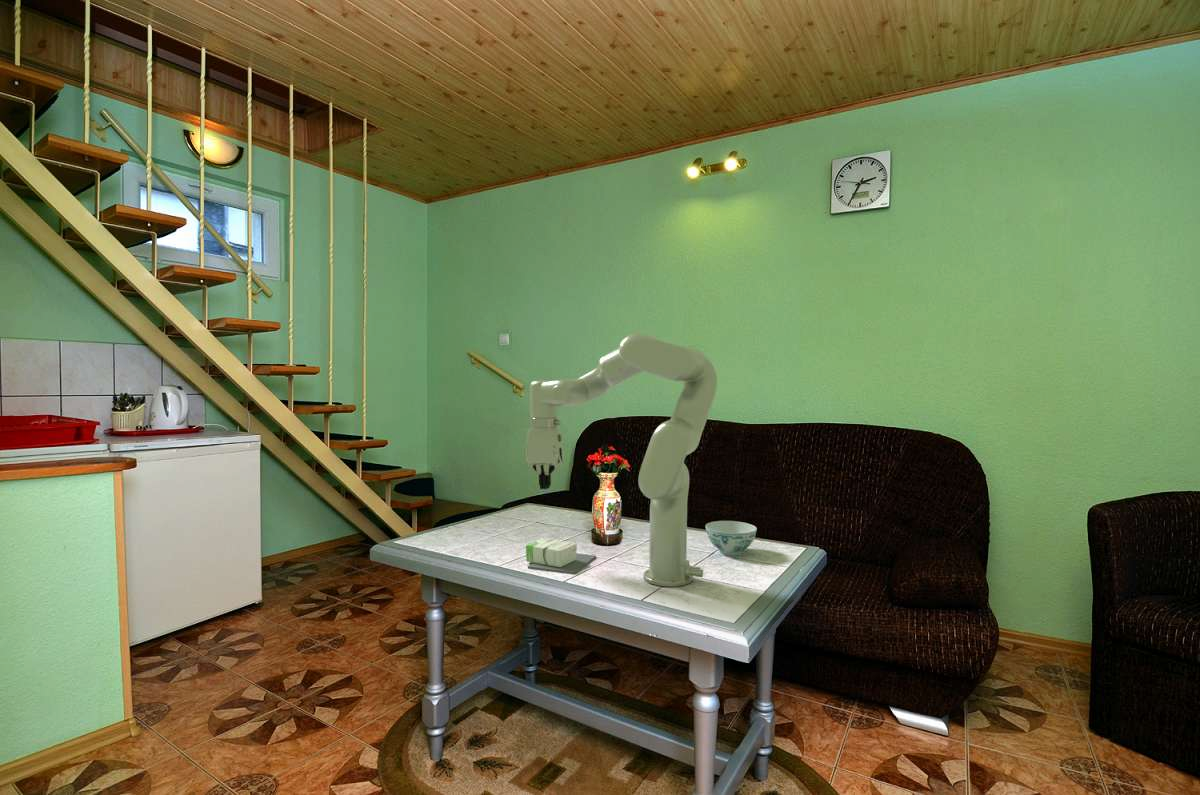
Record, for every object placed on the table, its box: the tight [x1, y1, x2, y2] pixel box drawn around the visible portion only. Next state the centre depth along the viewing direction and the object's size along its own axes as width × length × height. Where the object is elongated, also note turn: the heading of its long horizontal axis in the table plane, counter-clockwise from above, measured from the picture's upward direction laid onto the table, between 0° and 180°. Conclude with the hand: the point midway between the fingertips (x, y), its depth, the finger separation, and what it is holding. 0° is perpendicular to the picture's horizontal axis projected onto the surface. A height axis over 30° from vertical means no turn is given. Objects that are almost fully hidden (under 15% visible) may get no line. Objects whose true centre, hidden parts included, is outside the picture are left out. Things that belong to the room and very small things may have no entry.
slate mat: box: [527, 552, 597, 575], centre depth 165 cm, size 14×16×1 cm
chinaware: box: [705, 520, 758, 557], centre depth 176 cm, size 15×15×8 cm
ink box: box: [525, 537, 578, 567], centre depth 165 cm, size 9×5×12 cm
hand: (544, 488), depth 167 cm, fingers closed
